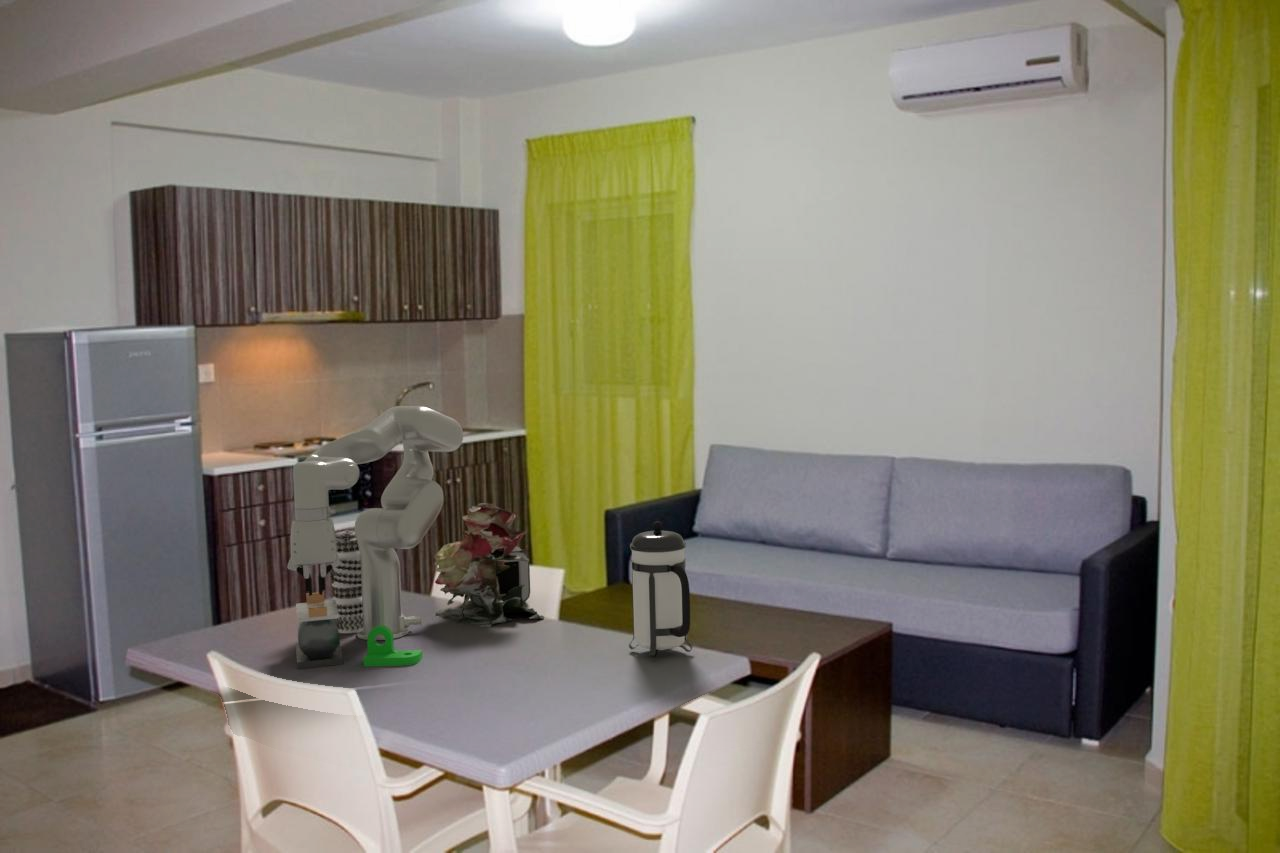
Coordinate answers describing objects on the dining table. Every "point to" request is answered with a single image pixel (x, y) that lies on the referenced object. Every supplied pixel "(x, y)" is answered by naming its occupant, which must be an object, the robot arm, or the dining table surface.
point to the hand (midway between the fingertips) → (315, 593)
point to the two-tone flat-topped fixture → (317, 633)
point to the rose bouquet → (481, 567)
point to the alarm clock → (511, 576)
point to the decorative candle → (348, 583)
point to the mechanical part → (388, 650)
